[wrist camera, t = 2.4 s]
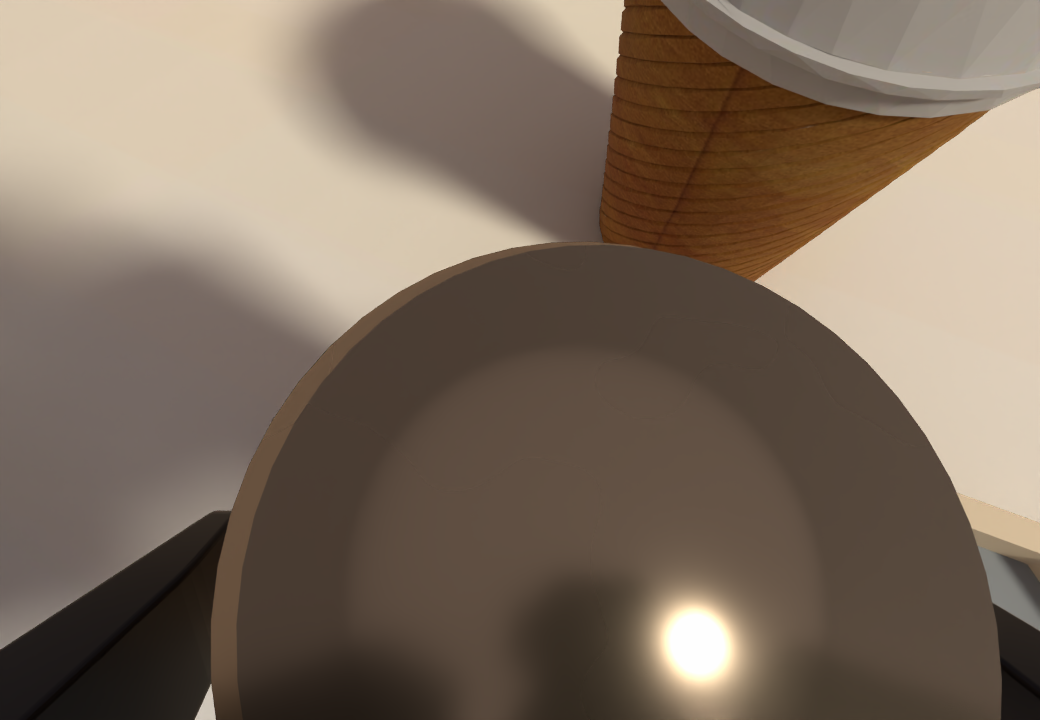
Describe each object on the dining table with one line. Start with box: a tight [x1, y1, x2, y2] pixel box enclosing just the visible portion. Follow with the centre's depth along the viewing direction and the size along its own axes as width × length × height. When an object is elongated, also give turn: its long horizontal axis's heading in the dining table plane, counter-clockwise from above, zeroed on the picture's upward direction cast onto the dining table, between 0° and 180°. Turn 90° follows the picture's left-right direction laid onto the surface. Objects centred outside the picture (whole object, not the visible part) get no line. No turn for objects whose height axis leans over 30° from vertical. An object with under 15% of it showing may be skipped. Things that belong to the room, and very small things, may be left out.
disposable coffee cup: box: [600, 0, 1040, 282], centre depth 14 cm, size 10×10×12 cm
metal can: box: [211, 242, 1002, 720], centre depth 9 cm, size 5×5×14 cm
